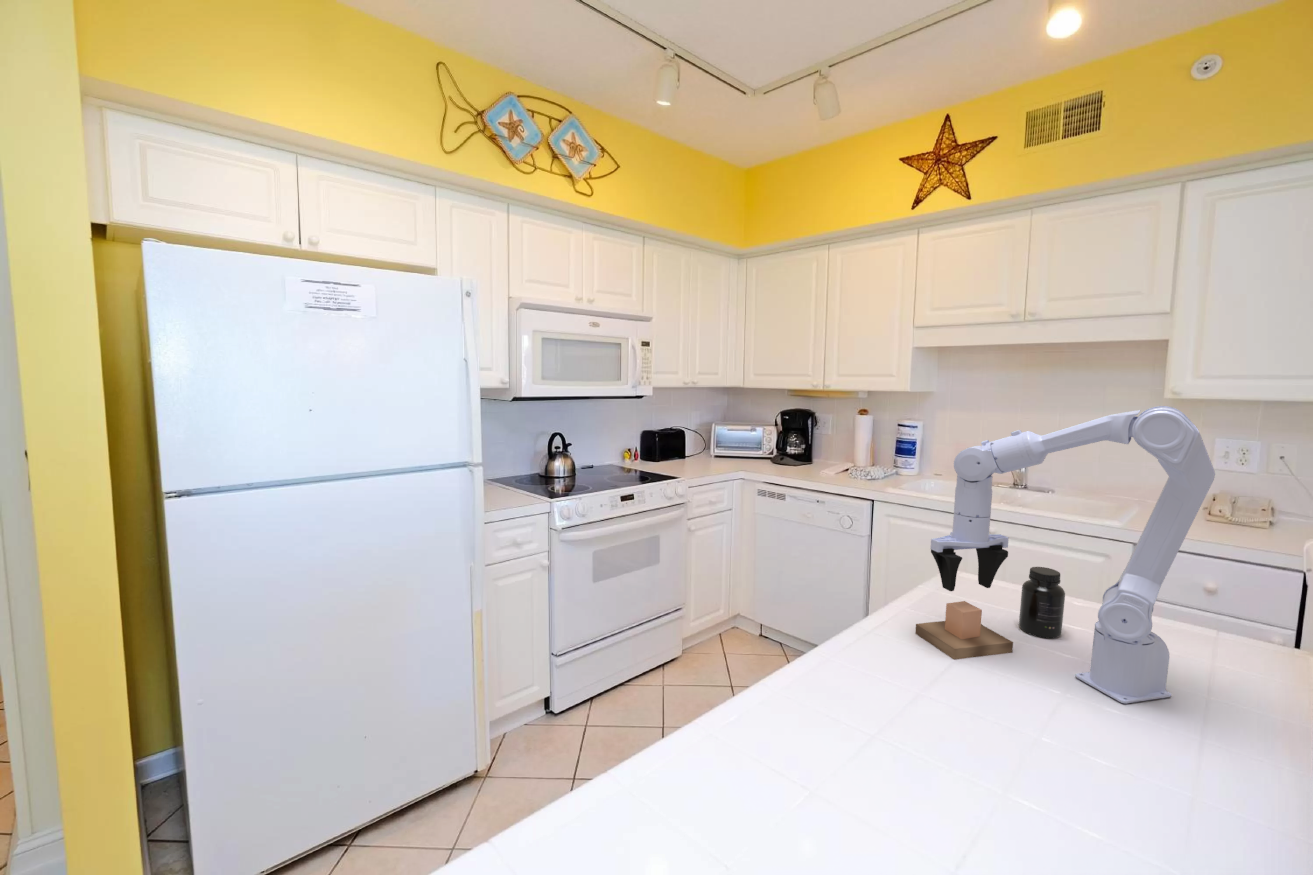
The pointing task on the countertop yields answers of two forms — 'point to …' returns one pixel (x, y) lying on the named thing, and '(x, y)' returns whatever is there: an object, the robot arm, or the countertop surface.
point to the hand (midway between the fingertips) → (966, 587)
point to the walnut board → (963, 641)
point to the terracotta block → (963, 619)
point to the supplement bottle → (1042, 603)
